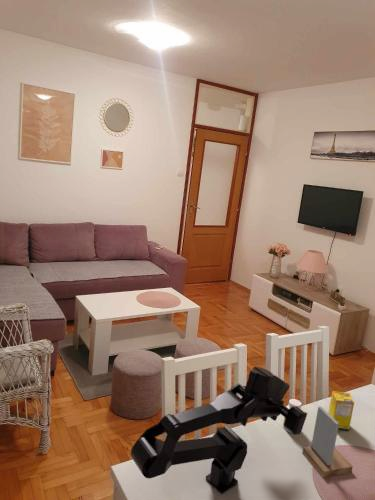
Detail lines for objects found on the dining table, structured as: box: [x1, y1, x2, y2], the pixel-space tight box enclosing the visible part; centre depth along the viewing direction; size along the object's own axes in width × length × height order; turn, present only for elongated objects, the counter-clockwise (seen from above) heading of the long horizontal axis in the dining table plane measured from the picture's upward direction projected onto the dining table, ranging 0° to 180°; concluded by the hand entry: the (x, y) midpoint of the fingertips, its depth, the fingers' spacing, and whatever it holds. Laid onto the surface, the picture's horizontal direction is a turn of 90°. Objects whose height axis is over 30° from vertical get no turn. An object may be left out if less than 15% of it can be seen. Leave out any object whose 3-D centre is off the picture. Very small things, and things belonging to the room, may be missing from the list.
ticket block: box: [302, 445, 353, 479], centre depth 117 cm, size 10×10×2 cm
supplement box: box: [328, 390, 355, 432], centre depth 135 cm, size 6×6×11 cm
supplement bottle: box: [282, 398, 303, 433], centre depth 131 cm, size 5×5×10 cm
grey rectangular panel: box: [310, 406, 339, 467], centre depth 115 cm, size 1×8×14 cm, turn 18°
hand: (294, 405), depth 117 cm, fingers open, 9 cm apart
